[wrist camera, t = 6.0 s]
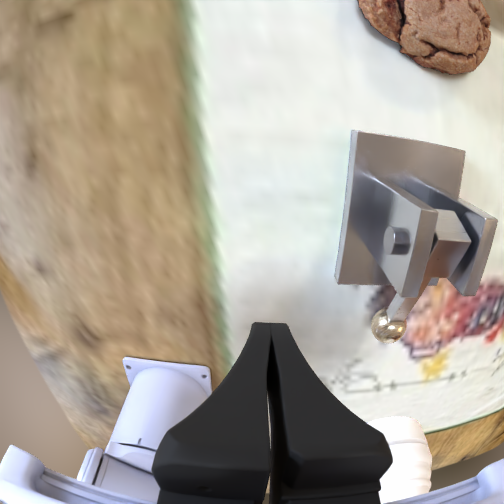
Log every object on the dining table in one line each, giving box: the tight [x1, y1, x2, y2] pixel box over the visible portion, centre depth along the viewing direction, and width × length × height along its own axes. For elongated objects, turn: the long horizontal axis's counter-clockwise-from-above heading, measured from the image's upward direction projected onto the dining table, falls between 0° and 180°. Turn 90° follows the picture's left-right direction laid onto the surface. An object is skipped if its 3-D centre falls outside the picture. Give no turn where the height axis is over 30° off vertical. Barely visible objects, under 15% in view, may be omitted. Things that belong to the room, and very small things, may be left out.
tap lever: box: [371, 209, 471, 343], centre depth 17 cm, size 11×3×3 cm, turn 179°
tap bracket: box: [335, 130, 498, 298], centre depth 16 cm, size 10×8×7 cm
